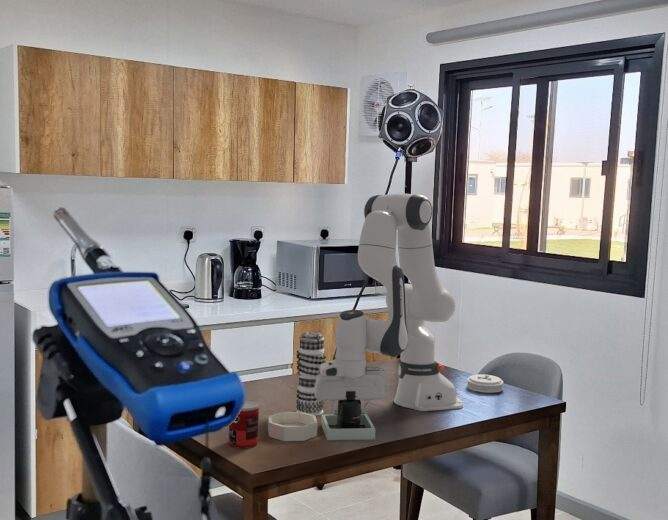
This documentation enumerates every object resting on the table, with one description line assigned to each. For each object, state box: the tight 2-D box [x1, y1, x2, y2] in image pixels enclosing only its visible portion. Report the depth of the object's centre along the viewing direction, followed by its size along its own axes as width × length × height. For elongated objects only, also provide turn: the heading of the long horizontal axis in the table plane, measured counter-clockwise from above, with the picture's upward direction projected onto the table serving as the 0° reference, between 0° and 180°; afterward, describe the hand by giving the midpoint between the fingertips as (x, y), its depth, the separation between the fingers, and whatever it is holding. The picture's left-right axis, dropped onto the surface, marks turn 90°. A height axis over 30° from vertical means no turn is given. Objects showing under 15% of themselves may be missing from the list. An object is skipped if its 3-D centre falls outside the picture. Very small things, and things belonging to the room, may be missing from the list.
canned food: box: [228, 400, 260, 449], centre depth 200 cm, size 8×8×11 cm
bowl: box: [267, 411, 318, 442], centre depth 210 cm, size 14×14×4 cm
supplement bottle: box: [336, 391, 362, 429], centre depth 212 cm, size 7×7×12 cm
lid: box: [466, 373, 504, 393], centre depth 261 cm, size 13×13×5 cm
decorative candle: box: [295, 331, 327, 417], centre depth 229 cm, size 9×9×25 cm
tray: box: [320, 413, 376, 441], centre depth 212 cm, size 14×14×3 cm
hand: (349, 414), depth 212 cm, fingers closed on supplement bottle, 7 cm apart
